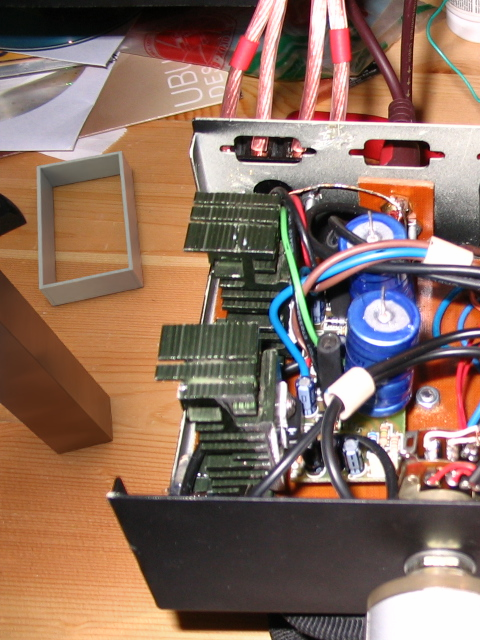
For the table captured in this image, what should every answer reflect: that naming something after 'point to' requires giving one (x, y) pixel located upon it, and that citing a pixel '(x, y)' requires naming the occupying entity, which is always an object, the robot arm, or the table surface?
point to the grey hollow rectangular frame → (46, 244)
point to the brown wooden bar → (47, 380)
